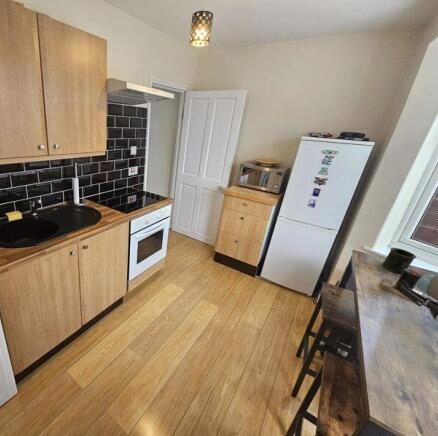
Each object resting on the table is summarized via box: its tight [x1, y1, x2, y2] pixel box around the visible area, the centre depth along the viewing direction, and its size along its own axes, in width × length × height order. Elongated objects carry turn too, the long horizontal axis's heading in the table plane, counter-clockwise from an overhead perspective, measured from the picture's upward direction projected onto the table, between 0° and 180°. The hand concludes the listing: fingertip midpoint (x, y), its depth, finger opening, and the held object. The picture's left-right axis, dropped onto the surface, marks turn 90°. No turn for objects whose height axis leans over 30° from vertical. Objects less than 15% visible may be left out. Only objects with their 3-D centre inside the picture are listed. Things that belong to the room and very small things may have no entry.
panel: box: [380, 278, 424, 302], centre depth 119 cm, size 14×10×3 cm
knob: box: [395, 268, 423, 290], centre depth 116 cm, size 6×6×10 cm
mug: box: [382, 247, 417, 275], centre depth 139 cm, size 11×15×12 cm
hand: (420, 286), depth 107 cm, fingers open, 13 cm apart
